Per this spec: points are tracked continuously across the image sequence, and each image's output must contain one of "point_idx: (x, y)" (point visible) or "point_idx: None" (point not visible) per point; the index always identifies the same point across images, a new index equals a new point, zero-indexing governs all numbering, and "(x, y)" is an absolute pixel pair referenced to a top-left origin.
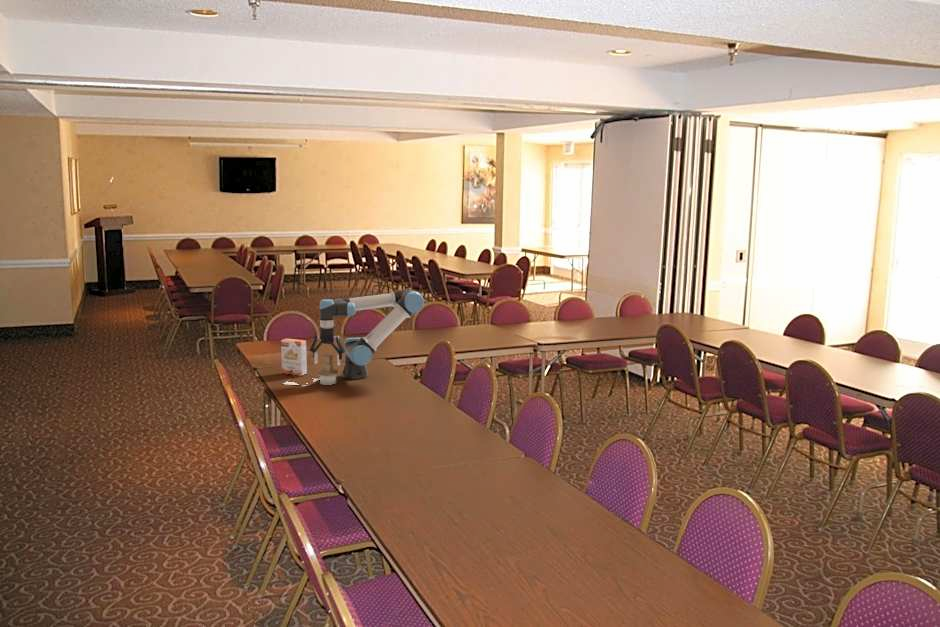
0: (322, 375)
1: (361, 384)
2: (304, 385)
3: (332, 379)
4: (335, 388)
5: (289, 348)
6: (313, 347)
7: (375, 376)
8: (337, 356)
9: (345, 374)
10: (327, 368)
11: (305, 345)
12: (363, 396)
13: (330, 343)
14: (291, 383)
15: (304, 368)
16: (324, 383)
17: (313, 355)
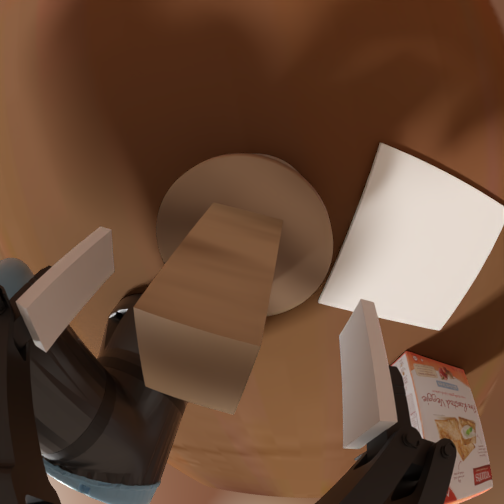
0: None
1: (86, 205)
2: (409, 156)
3: None
4: (187, 100)
5: (469, 462)
6: (406, 497)
7: (97, 324)
8: (42, 287)
9: None
10: (222, 222)
11: None
12: (48, 9)
13: (12, 499)
14: (474, 216)
15: None
16: (270, 157)
17: (399, 393)
